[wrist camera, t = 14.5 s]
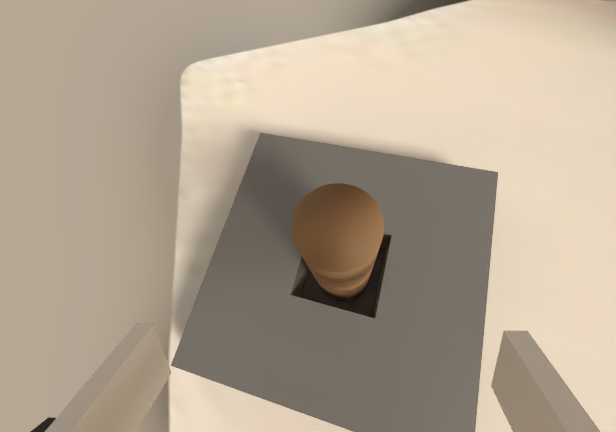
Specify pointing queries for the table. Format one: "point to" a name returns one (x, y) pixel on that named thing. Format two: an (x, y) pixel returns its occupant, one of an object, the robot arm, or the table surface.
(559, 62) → the table surface
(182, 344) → the socket
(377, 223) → the peg
